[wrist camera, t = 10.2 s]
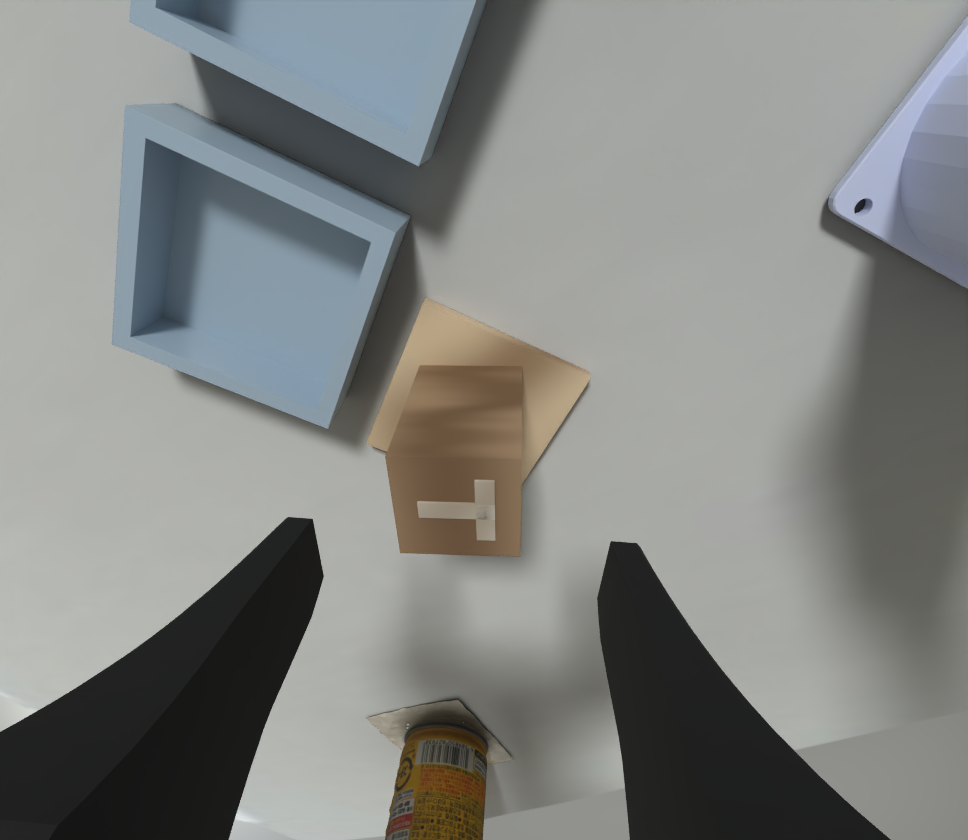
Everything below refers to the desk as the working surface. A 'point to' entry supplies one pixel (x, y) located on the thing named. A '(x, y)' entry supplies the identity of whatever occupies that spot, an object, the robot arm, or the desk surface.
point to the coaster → (475, 344)
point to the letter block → (459, 462)
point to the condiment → (439, 771)
